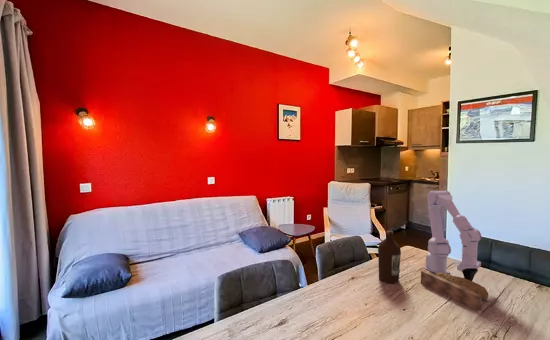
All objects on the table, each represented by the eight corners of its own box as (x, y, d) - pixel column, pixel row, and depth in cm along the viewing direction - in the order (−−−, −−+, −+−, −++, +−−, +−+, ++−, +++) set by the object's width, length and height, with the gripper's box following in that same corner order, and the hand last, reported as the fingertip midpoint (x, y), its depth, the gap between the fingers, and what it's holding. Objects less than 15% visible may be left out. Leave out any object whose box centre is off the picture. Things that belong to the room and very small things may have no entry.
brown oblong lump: (431, 287, 130) (470, 300, 111) (431, 270, 132) (469, 280, 113) (452, 289, 133) (494, 301, 114) (452, 272, 135) (493, 282, 116)
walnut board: (420, 282, 132) (421, 271, 132) (424, 281, 133) (424, 270, 133) (477, 311, 108) (478, 297, 108) (481, 309, 109) (482, 295, 109)
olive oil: (373, 278, 137) (374, 230, 136) (385, 272, 143) (386, 227, 142) (392, 286, 128) (393, 235, 127) (404, 280, 134) (405, 232, 133)
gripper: (468, 260, 119) (467, 289, 120) (488, 255, 124) (487, 283, 125) (452, 254, 125) (451, 282, 126) (472, 250, 131) (471, 277, 132)
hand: (468, 282), depth 126 cm, fingers closed
